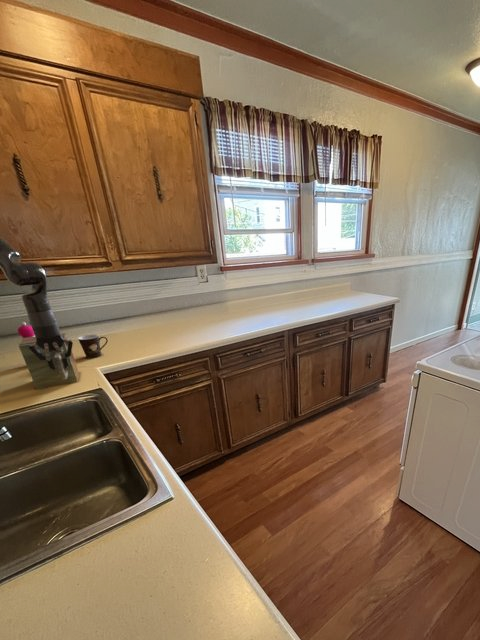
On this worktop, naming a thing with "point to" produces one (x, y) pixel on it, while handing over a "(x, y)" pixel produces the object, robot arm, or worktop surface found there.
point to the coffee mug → (91, 345)
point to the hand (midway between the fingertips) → (60, 368)
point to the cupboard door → (48, 368)
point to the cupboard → (33, 340)
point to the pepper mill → (25, 331)
